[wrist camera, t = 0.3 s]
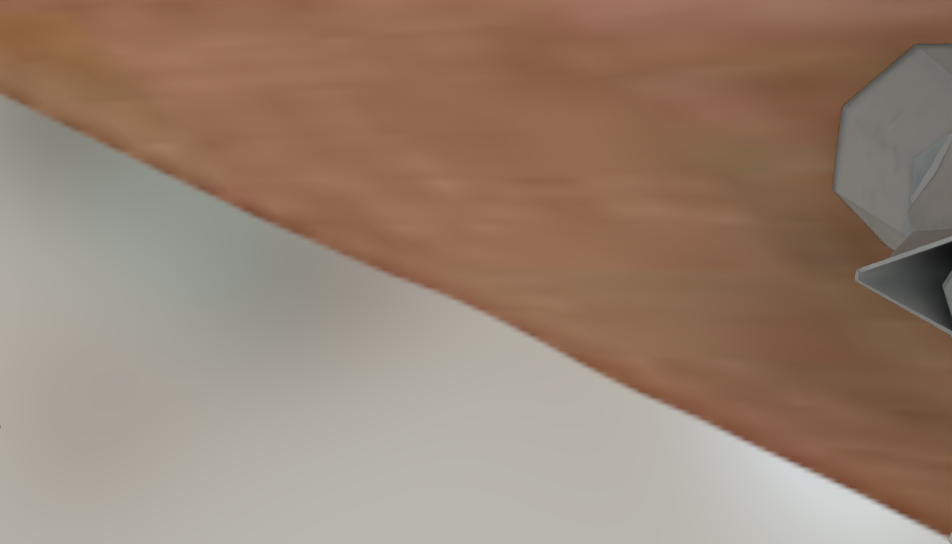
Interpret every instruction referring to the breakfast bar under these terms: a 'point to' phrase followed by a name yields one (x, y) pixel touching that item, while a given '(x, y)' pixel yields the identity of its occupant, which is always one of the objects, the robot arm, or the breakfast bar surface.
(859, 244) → the breakfast bar surface
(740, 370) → the breakfast bar surface
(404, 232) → the breakfast bar surface
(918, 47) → the coffee maker
